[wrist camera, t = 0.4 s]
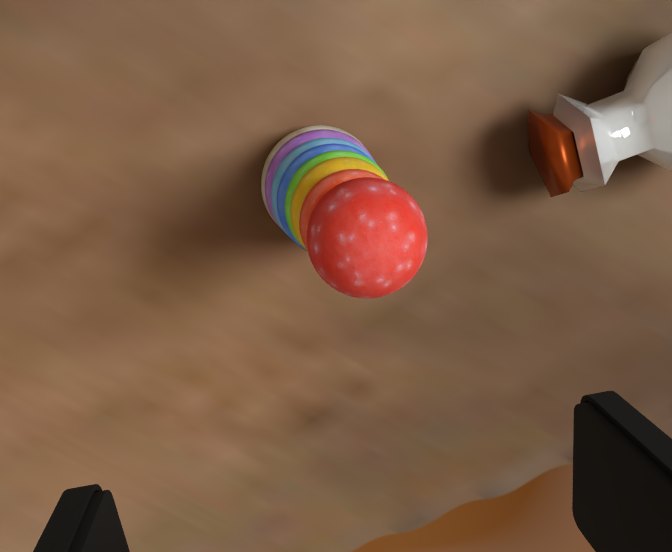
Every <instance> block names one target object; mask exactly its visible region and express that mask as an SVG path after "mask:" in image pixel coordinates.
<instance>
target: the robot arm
mask: <svg viewBox="0 0 672 552" xmlns="http://www.w3.org/2000/svg"><path fill="white" fill-rule="evenodd" d="M572 509H573V515H574V519H575V522H576V524H577V526H578V528H579V530H580V531H581V532H582V534H583V535H584V537H585V538H586V539H587V541H588V542H589V543H590V545H591V546H592V547H593V549H594V550H595V551H596V552H672V439H671V438H670V437H669V436H667V435H666V434H665V433H664V432H662V431H661V430H660V429H659V428H658V427H657V426H655V425H654V424H653V423H652V422H651V421H649V420H648V419H647V418H646V417H645V416H643V415H642V414H641V413H640V412H639V411H637V410H636V409H635V408H634V407H633V406H631V405H630V404H629V403H628V402H627V401H625V400H624V399H623V398H622V397H621V396H619V395H618V394H617V393H615V392H614V391H606V392H601V393H595V394H590V395H585V396H583V397H582V399H581V403H580V404H577V405H576V406H575V408H574V443H573V508H572ZM33 552H130V551H129V548H128V545H127V541H126V538H125V535H124V532H123V528H122V525H121V522H120V519H119V515H118V512H117V509H116V505H115V502H114V499H113V496H112V493H111V492H110V491H109V490H104V491H102V489H101V487H100V486H99V485H97V484H94V485H88V486H83V487H77V488H72V489H67V490H65V491H64V492H63V494H62V496H61V498H60V500H59V501H58V503H57V505H56V507H55V509H54V511H53V513H52V515H51V517H50V519H49V521H48V523H47V525H46V527H45V529H44V531H43V533H42V535H41V537H40V539H39V541H38V543H37V545H36V547H35V549H34V551H33Z"/></svg>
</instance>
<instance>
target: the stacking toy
mask: <svg viewBox="0 0 672 552" xmlns="http://www.w3.org/2000/svg"><path fill="white" fill-rule="evenodd" d="M261 191H262V198H263V201H264V204H265V207H266V209H267V211H268V213H269V215H270V216H271V218H272V219H273V221H274V222H275V223H276V224H277V225H278V226H279V227H280V228H281V229H282V230H283V231H284V232H285V233H286V234H287V235H288V236H289V237H290V238H291V239H292V240H293V241H294V242H295V243H296V244H297V245H299V246H300V247H301V248H303V249H305V250H306V251H308V253H309V256H310V259H311V262H312V264H313V266H314V268H315V269H316V271H317V273H318V274H319V275H320V277H321V278H322V279H323V280H324V281H325V282H326V283H327V284H329V285H330V286H331V287H333V288H334V289H336V290H337V291H339V292H341V293H344V294H346V295H348V296H351V297H357V298H377V297H382V296H385V295H388V294H391V293H393V292H396V291H397V290H399V289H400V288H402V287H403V286H404V285H406V284H407V283H408V282H409V281H410V280H411V279H412V278H413V277H414V275H415V274H416V273H417V271H418V270H419V268H420V266H421V265H422V262H423V260H424V258H425V254H426V249H427V240H428V234H427V227H426V222H425V219H424V216H423V213H422V211H421V209H420V207H419V206H418V204H417V203H416V201H415V200H414V199H413V198H412V196H411V195H410V194H409V193H407V192H406V191H405V190H404V189H403V188H401V187H399V186H398V185H396V184H394V183H392V182H389V180H388V178H387V177H386V175H385V174H384V172H383V171H382V170H381V168H380V167H379V166H378V165H377V164H376V162H375V161H374V159H373V157H372V156H371V154H370V153H369V151H368V150H367V149H366V148H365V147H364V145H363V144H362V143H361V142H360V141H359V140H358V139H356V138H355V137H354V136H353V135H351V134H349V133H348V132H346V131H344V130H341V129H339V128H335V127H331V126H324V125H317V126H309V127H305V128H301V129H299V130H296V131H294V132H292V133H290V134H288V135H287V136H285V137H284V138H283V139H282V140H281V141H279V142H278V143H277V144H276V146H275V147H274V148H273V149H272V151H271V152H270V154H269V155H268V157H267V159H266V162H265V164H264V168H263V172H262V178H261Z"/></svg>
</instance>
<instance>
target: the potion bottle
mask: <svg viewBox="0 0 672 552" xmlns="http://www.w3.org/2000/svg"><path fill="white" fill-rule="evenodd" d="M529 152H530V154H531V156H532V158H533V160H534V163H535V165H536V167H537V169H538V171H539V173H540V175H541V177H542V179H543V181H544V184H545V186H546V188H547V190H548V192H549V194H550V196H551V197H553V196H557V195H560V194H563V193H566V192H569V190H570V188H571V186H572V185H573V186H575V187H576V188H577V189H578V190H580V191H581V192H584V191H587V190H591V189H594V188H598V187H601V186H605V185H606V183H607V181H608V179H609V177H610V176H611V174H612V172H613V170H614V169H615V167H616V165H617V163H618V161H621V160H623V159H626V158H629V157H632V156H634V155H639V156H640V157H642V158H644V159H646V160H648V161H650V162H652V163H654V164H656V165H658V166H660V167H661V168H663V169H665V170H668V171H671V172H672V32H671V33H669V34H668V35H666V36H664V37H663V38H661V39H659V40H658V41H656V42H654V43H653V44H651V45H649V46H648V47H646V48H644V49H643V51H642V52H641V54H640V56H639V58H638V59H637V61H636V63H635V65H634V66H633V68H632V70H631V71H630V73H629V75H628V77H627V80H626V84H625V89H624V91H622V92H620V93H617V94H614V95H612V96H609V97H607V98H604V99H601V100H599V101H596V102H594V103H591V104H586V103H583V102H580V101H578V100H575V99H572V98H569V97H566V96H563V95H561V94H558V96H557V100H556V104H555V108H554V113H553V114H550V115H541V114H538V113H535V112H533V111H530V110H529Z"/></svg>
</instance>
